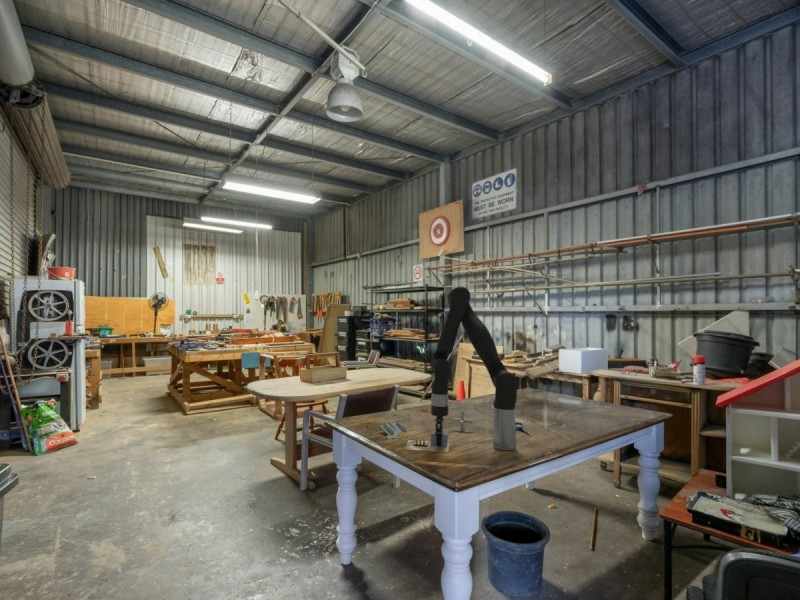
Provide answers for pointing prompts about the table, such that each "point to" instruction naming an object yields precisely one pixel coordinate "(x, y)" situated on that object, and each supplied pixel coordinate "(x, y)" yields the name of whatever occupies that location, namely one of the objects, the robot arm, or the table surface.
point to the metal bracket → (393, 429)
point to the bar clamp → (519, 426)
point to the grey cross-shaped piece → (462, 420)
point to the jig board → (424, 446)
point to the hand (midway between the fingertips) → (439, 443)
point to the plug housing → (444, 439)
